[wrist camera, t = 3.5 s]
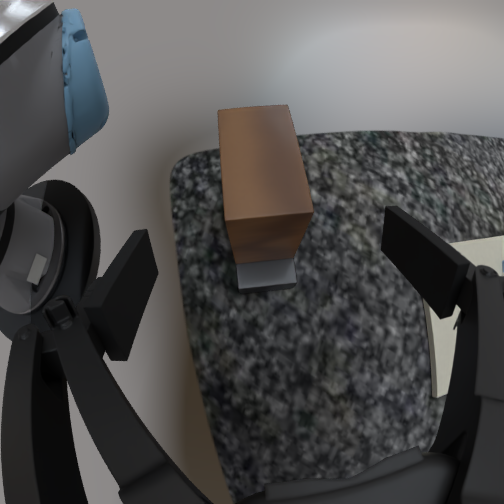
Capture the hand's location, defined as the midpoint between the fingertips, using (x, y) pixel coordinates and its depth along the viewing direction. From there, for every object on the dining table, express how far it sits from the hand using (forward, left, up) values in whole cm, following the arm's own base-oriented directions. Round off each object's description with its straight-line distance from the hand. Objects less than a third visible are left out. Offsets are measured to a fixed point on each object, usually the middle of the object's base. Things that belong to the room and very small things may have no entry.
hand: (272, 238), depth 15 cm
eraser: (0, +5, -10) cm, 11 cm away
